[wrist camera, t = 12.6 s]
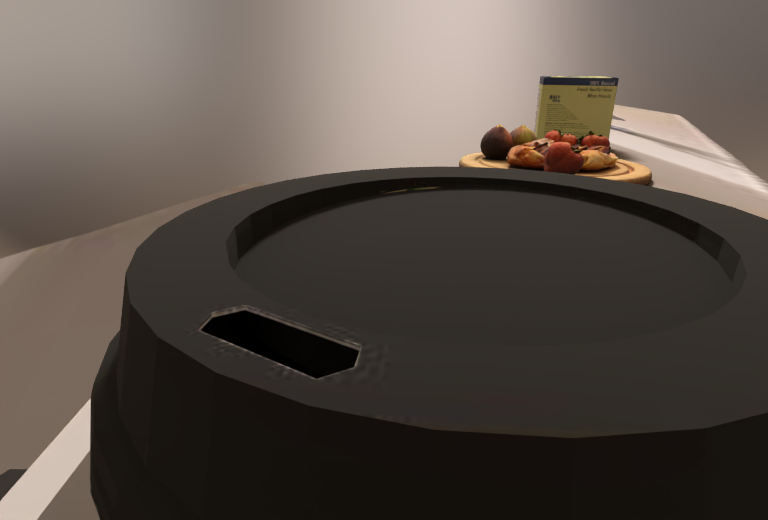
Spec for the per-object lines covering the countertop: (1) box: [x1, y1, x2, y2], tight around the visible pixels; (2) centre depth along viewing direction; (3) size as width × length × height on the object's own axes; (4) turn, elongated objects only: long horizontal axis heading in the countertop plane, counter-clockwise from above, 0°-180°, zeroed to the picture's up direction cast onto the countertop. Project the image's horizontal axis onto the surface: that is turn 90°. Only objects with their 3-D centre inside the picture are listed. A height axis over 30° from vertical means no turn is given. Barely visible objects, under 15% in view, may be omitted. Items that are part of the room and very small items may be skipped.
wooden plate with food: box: [459, 125, 652, 185], centre depth 88 cm, size 32×32×8 cm
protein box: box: [534, 76, 618, 140], centre depth 115 cm, size 10×16×16 cm
